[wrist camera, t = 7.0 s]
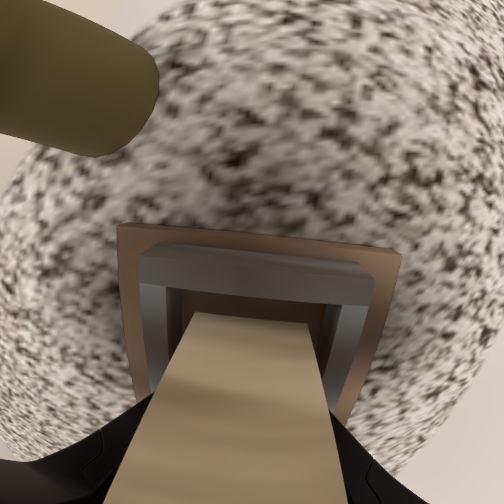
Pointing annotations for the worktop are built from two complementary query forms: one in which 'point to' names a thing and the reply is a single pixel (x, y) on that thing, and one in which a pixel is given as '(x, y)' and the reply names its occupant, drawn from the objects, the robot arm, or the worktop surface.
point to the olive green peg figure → (71, 80)
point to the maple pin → (235, 422)
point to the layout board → (254, 296)
